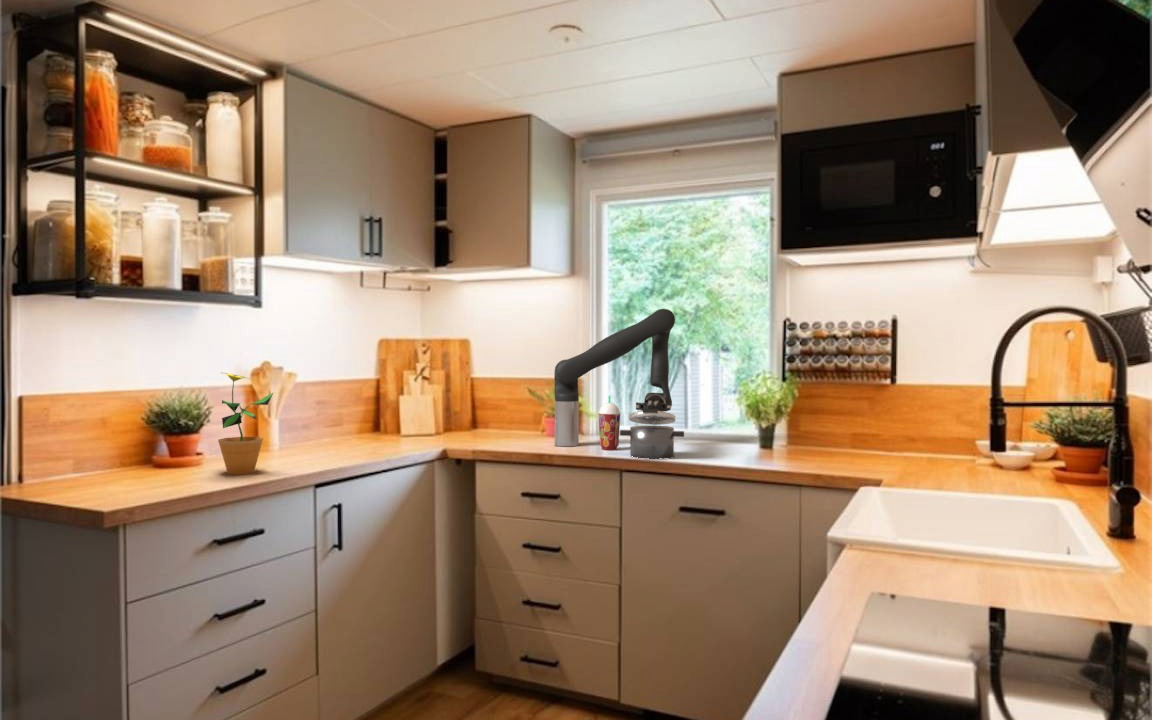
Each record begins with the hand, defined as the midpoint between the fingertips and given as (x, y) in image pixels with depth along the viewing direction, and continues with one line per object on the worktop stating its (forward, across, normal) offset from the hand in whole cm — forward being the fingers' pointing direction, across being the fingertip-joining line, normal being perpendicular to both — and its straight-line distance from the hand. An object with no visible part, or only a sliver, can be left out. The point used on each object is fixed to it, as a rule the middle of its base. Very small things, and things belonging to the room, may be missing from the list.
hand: (651, 408), depth 264 cm
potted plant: (+56, -118, +17) cm, 131 cm away
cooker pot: (-4, 0, +17) cm, 17 cm away
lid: (-3, 0, +4) cm, 5 cm away
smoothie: (-20, -17, +17) cm, 31 cm away
